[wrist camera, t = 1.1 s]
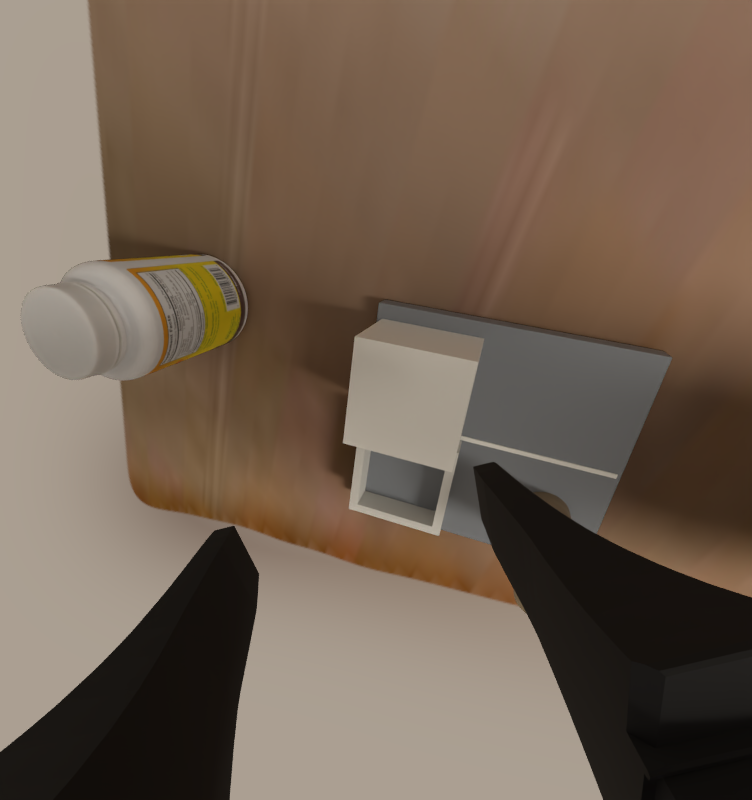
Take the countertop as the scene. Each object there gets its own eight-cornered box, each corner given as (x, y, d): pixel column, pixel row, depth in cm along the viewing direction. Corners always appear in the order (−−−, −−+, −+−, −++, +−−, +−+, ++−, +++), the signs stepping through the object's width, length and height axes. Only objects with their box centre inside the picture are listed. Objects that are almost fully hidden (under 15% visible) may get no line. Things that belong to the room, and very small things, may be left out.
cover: (484, 338, 21) (478, 362, 17) (462, 432, 23) (452, 472, 19) (382, 318, 22) (354, 336, 18) (369, 409, 24) (342, 443, 21)
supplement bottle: (168, 317, 28) (1, 357, 19) (187, 236, 25) (4, 237, 16) (238, 359, 27) (102, 421, 18) (264, 281, 25) (121, 308, 16)
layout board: (663, 351, 20) (698, 377, 16) (577, 557, 25) (588, 613, 22) (385, 299, 23) (360, 311, 19) (358, 492, 28) (335, 532, 25)
